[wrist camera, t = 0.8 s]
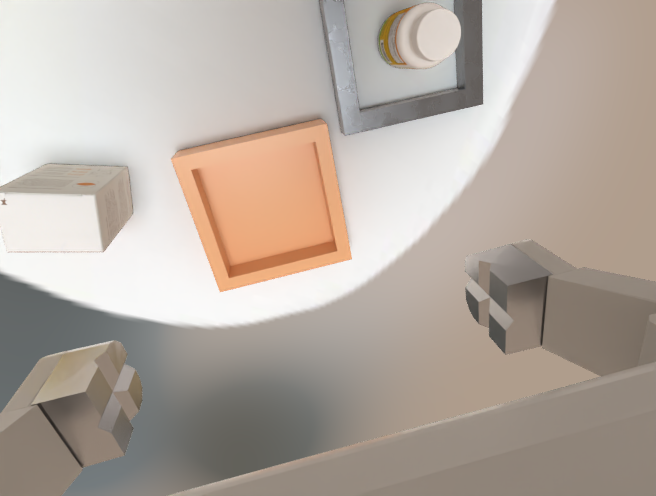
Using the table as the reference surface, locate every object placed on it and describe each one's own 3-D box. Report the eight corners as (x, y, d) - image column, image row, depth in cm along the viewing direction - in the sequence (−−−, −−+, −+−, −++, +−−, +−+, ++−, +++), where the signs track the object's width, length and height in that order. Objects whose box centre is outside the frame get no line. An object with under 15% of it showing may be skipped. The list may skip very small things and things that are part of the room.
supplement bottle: (434, 24, 42) (480, 15, 34) (412, 76, 44) (451, 79, 35) (389, 1, 41) (426, -15, 32) (368, 56, 43) (398, 54, 34)
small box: (56, 212, 44) (3, 253, 34) (46, 161, 42) (-14, 190, 32) (135, 214, 45) (104, 254, 36) (129, 165, 43) (95, 194, 34)
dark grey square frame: (312, -36, 38) (315, -40, 36) (470, -66, 39) (480, -73, 38) (341, 132, 45) (345, 135, 44) (474, 102, 46) (483, 104, 45)
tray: (177, 150, 43) (170, 158, 40) (320, 118, 44) (327, 123, 41) (222, 275, 50) (220, 292, 47) (345, 245, 51) (351, 259, 48)
